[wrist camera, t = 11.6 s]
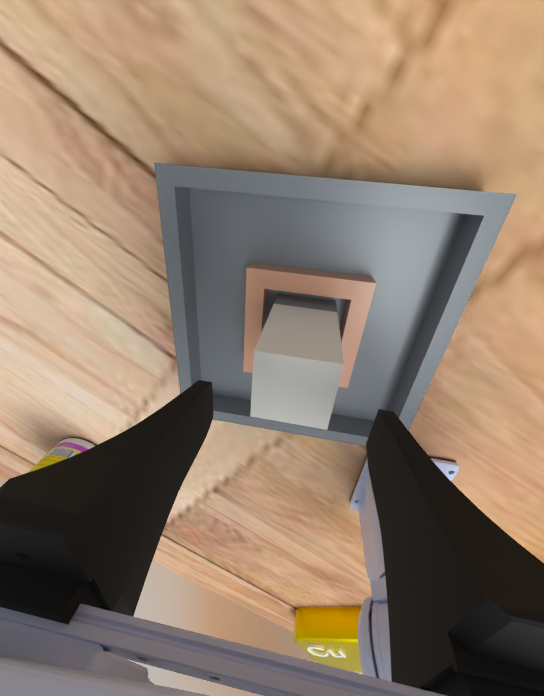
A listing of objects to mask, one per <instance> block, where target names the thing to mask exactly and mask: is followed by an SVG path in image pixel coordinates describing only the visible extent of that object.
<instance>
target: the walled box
mask: <svg viewBox="0 0 544 696" xmlns="http://www.w3.org/2000/svg"><path fill="white" fill-rule="evenodd" d="M154 164H155V173H156V181H157V190H158V199H159V208H160V217H161V226H162V234H163V243H164V252H165V261H166V270H167V279H168V287H169V296H170V305H171V314H172V323H173V332H174V340H175V349H176V358H177V367H178V376H179V385H180V393H182V392H184V391H185V390H186V389H188V388H189V387H190V386H191V385H193V384H194V383H196V382H197V381H198V380H202V381H209V382H212V391H213V419H214V420H220V421H225V422H231V423H237V424H243V425H248V426H254V427H260V428H265V429H271V430H277V431H283V432H288V433H294V434H300V435H305V436H311V437H317V438H323V439H328V440H334V441H340V442H345V443H351V444H357V445H363V446H366V442H367V439H368V437H369V434H370V431H371V428H372V426H373V423H374V420H375V417H376V415H377V412H378V409H381V410H387V411H394V413H395V414H396V415H397V417H398V418H399V419H400V420H401V422H402V423H403V424H404V426H405V427H406V428H407V430H409V428H410V426H411V424H412V421H413V419H414V417H415V415H416V413H417V410H418V408H419V406H420V404H421V402H422V400H423V397H424V395H425V393H426V391H427V389H428V387H429V384H430V382H431V380H432V378H433V376H434V373H435V371H436V369H437V367H438V365H439V363H440V360H441V358H442V356H443V354H444V352H445V349H446V347H447V345H448V343H449V341H450V339H451V336H452V334H453V332H454V330H455V328H456V326H457V323H458V321H459V319H460V317H461V315H462V312H463V310H464V308H465V306H466V304H467V302H468V299H469V297H470V295H471V293H472V291H473V289H474V286H475V284H476V282H477V280H478V278H479V275H480V273H481V271H482V269H483V267H484V265H485V262H486V260H487V258H488V256H489V254H490V252H491V249H492V247H493V245H494V243H495V241H496V238H497V236H498V234H499V232H500V230H501V228H502V225H503V223H504V221H505V219H506V217H507V214H508V212H509V210H510V208H511V206H512V204H513V201H514V199H515V197H516V195H517V194H506V193H495V192H483V191H472V190H460V189H449V188H437V187H425V186H414V185H402V184H391V183H379V182H368V181H356V180H345V179H333V178H322V177H310V176H299V175H287V174H276V173H264V172H253V171H241V170H230V169H218V168H207V167H195V166H184V165H172V164H161V163H154ZM278 294H285V295H293V296H300V297H308V298H316V299H323V300H331V301H336V306H337V314H338V322H339V329H340V337H341V345H342V353H343V360H344V367H343V370H342V374H341V378H340V382H339V386H338V390H337V394H336V398H335V402H334V406H333V409H332V413H331V417H330V421H329V425H328V429H327V430H325V429H319V428H313V427H308V426H302V425H296V424H290V423H285V422H279V421H273V420H267V419H262V418H256V417H250V410H251V393H252V375H253V358H254V349H255V347H256V345H257V342H258V340H259V338H260V335H261V333H262V330H263V328H264V326H265V323H266V321H267V319H268V316H269V314H270V311H271V309H272V307H273V304H274V302H275V300H276V297H277V295H278Z"/></svg>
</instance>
